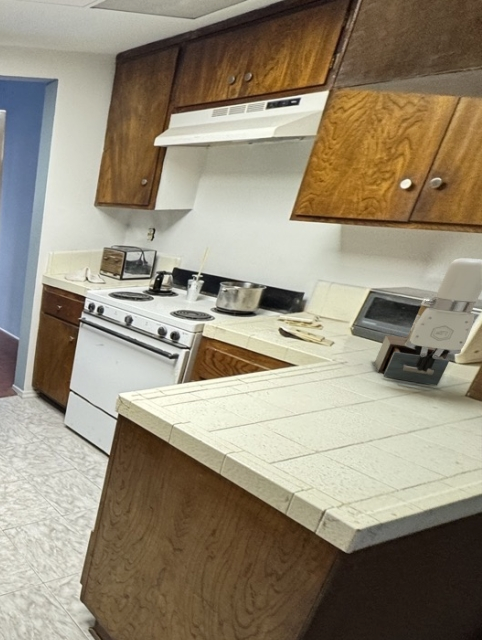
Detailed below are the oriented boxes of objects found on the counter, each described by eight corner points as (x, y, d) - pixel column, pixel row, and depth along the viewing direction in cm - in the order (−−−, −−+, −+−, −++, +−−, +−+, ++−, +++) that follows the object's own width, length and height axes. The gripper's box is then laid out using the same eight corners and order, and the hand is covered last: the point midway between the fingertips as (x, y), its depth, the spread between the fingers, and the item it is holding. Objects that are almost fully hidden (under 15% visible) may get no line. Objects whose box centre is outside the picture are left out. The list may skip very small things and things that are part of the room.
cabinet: (434, 381, 143) (448, 351, 140) (377, 372, 151) (390, 343, 147) (427, 370, 154) (440, 342, 150) (374, 361, 161) (386, 335, 157)
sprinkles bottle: (425, 342, 150) (444, 300, 145) (425, 344, 147) (445, 301, 142) (405, 339, 153) (423, 297, 148) (404, 341, 150) (423, 299, 145)
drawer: (439, 389, 134) (452, 364, 131) (385, 380, 141) (396, 355, 138) (430, 374, 147) (441, 350, 144) (380, 366, 154) (390, 343, 151)
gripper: (414, 303, 128) (386, 367, 135) (497, 312, 119) (463, 379, 126) (411, 300, 133) (384, 361, 140) (490, 308, 124) (457, 373, 131)
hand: (421, 369), depth 133 cm, fingers closed
